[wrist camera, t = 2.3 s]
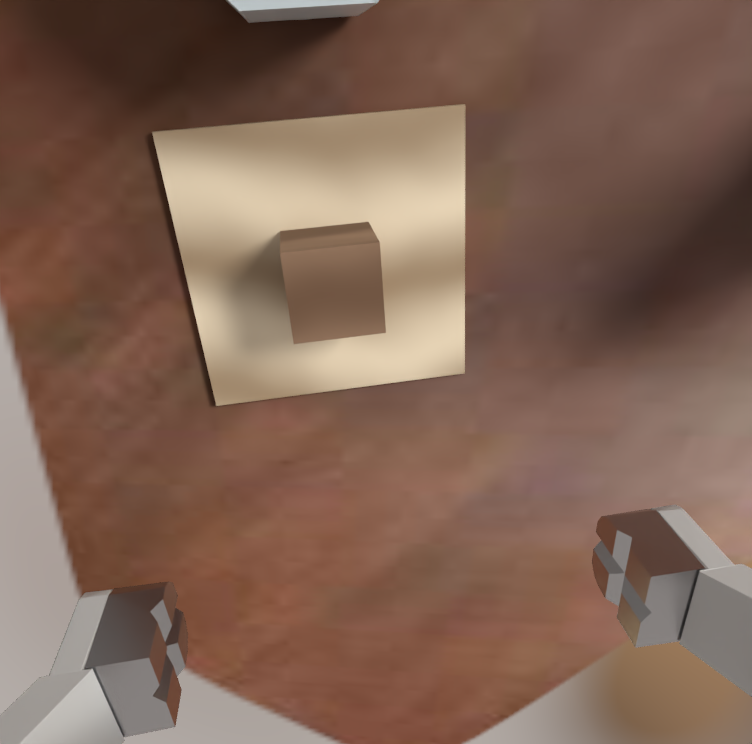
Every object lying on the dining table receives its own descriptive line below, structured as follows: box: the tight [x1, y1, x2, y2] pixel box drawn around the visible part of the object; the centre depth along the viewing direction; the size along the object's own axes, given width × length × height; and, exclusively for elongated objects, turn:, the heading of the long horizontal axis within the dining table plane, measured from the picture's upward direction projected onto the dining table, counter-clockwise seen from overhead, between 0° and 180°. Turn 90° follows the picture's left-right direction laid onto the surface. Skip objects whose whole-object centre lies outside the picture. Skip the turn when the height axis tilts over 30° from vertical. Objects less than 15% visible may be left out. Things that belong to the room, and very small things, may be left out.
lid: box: [152, 104, 465, 406], centre depth 26 cm, size 13×13×4 cm
